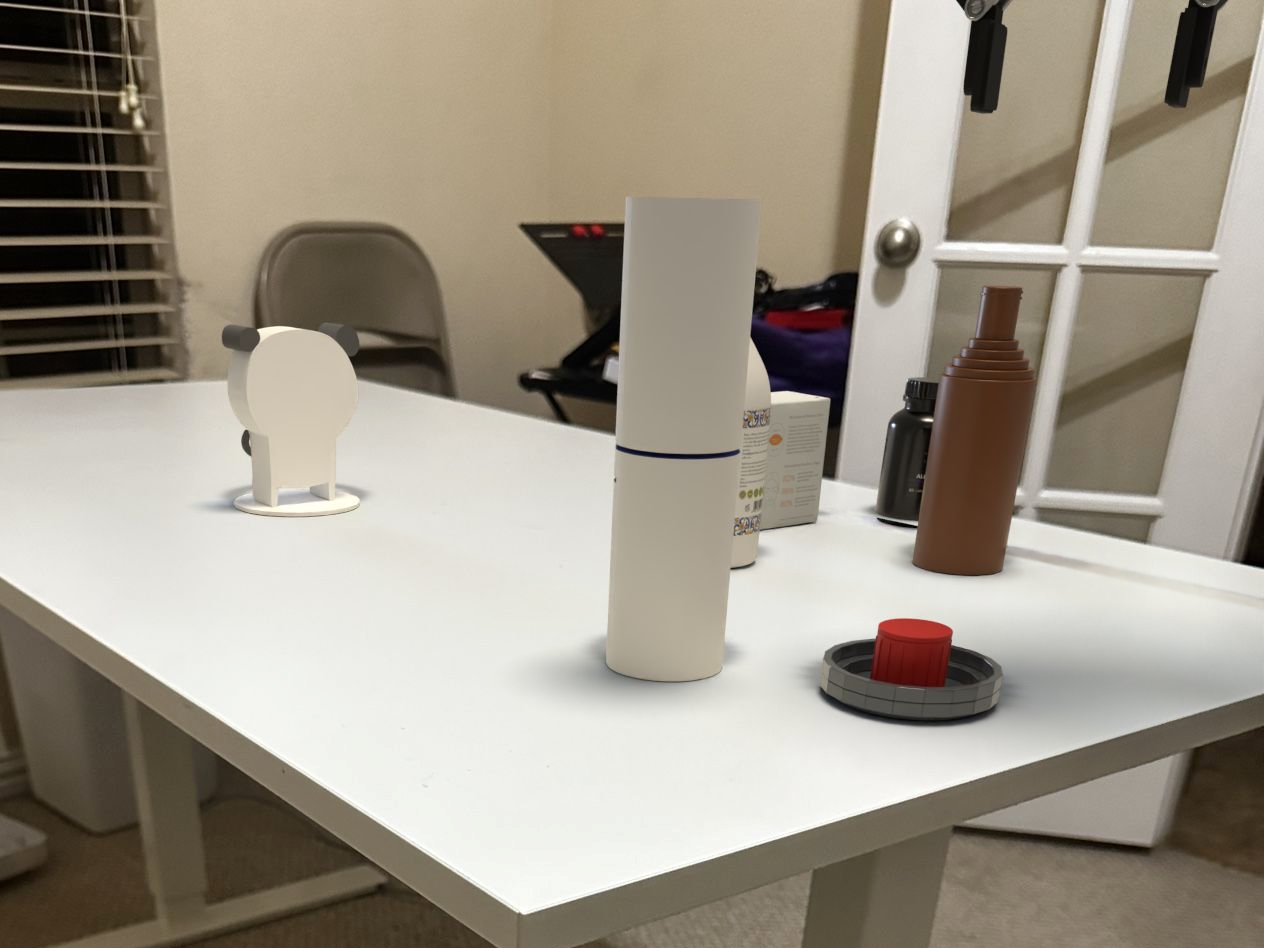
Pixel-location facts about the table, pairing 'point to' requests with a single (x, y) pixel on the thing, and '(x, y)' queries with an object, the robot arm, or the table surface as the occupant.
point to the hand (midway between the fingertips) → (1076, 109)
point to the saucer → (963, 694)
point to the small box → (794, 459)
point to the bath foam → (752, 461)
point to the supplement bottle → (907, 453)
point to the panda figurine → (293, 414)
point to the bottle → (977, 445)
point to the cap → (911, 652)
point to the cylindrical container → (679, 431)
